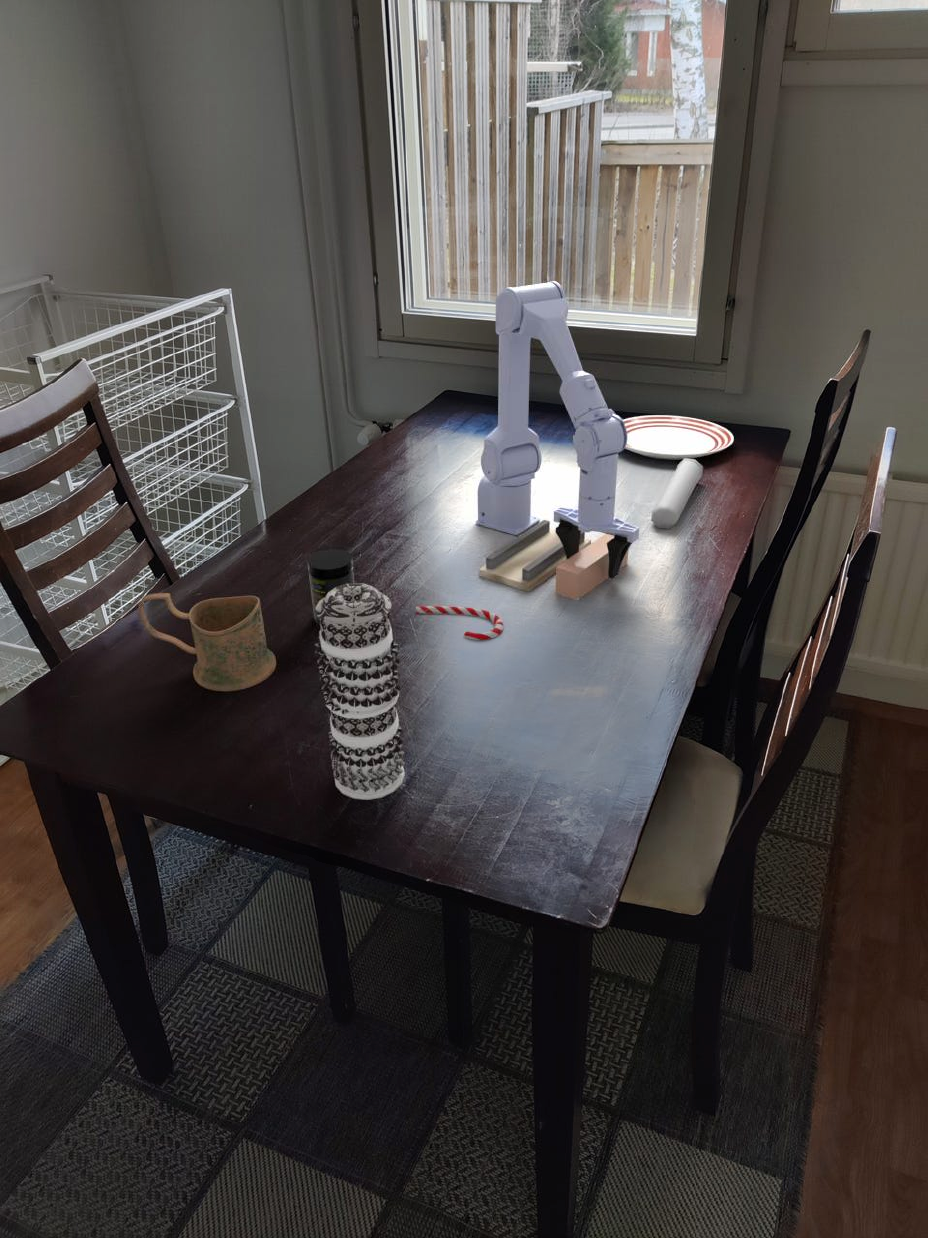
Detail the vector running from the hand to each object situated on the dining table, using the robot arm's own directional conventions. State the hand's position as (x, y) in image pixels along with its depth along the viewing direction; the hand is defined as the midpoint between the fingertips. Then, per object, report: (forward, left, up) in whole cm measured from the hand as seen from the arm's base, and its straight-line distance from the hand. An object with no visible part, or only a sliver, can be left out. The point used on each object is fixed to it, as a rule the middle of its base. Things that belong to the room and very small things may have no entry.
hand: (592, 570), depth 152 cm
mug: (-31, -54, -2) cm, 62 cm away
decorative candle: (+3, -59, -2) cm, 59 cm away
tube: (-2, +35, -2) cm, 35 cm away
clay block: (0, 0, -2) cm, 2 cm away
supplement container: (-26, -34, -2) cm, 43 cm away
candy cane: (-10, -24, -2) cm, 26 cm away
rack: (-11, 0, -1) cm, 11 cm away
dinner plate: (-17, +64, -2) cm, 66 cm away
